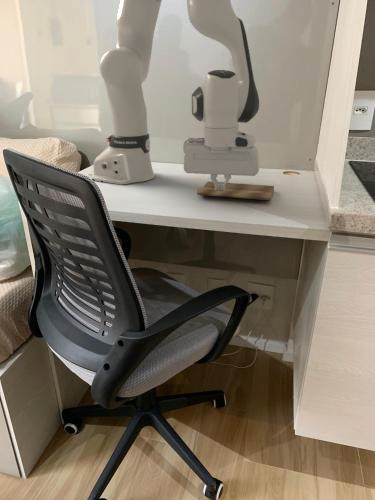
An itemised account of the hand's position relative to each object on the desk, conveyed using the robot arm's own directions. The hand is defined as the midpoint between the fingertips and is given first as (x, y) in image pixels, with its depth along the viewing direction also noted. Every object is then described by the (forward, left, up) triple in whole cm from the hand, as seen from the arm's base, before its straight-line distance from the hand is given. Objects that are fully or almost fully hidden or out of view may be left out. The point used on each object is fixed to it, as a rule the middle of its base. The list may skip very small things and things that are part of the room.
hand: (220, 190), depth 108 cm
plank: (+4, +2, -2) cm, 5 cm away
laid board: (+4, +10, -3) cm, 11 cm away
